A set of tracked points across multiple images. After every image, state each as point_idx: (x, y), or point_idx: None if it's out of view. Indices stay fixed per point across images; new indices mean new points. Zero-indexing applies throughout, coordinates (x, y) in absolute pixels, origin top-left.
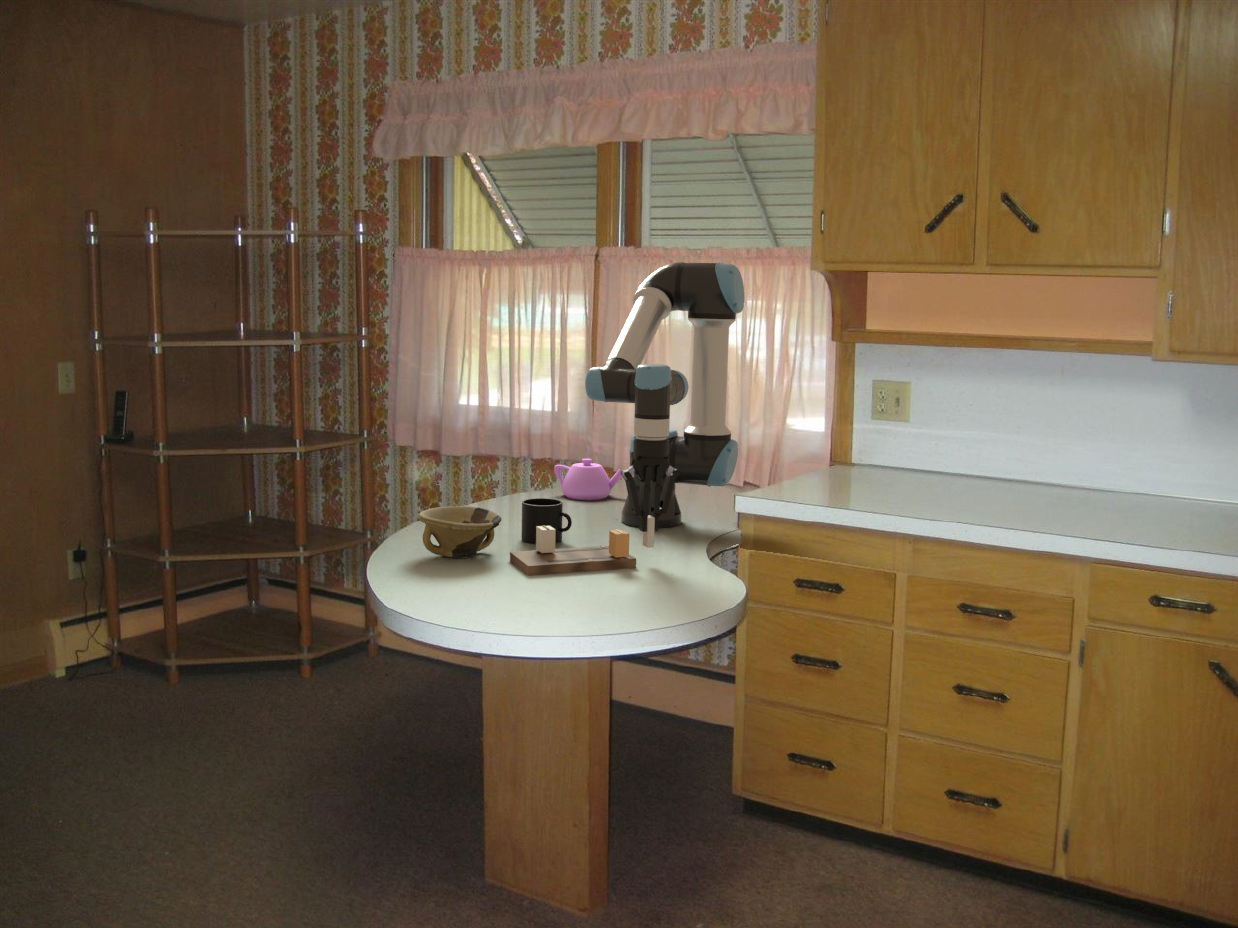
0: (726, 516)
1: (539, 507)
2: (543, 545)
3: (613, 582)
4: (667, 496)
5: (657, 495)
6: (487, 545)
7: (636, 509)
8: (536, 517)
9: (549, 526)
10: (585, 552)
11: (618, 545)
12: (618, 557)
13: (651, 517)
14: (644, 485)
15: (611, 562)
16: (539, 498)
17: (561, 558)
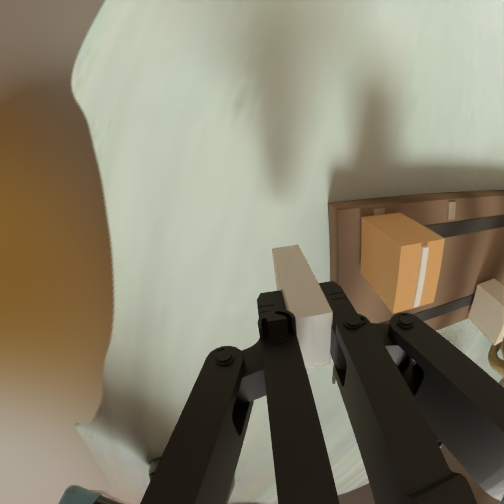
0: (97, 461)
1: (437, 438)
2: (501, 286)
3: (419, 71)
4: (198, 443)
5: (298, 445)
6: (493, 345)
7: (422, 331)
8: None
9: (499, 338)
10: None
11: (413, 225)
12: None
13: (310, 321)
14: (457, 476)
15: (406, 200)
16: None
17: (483, 242)
